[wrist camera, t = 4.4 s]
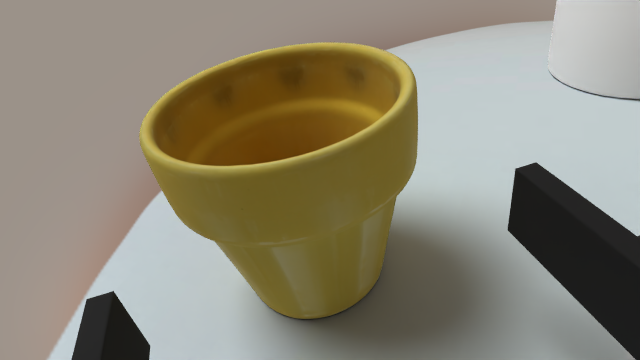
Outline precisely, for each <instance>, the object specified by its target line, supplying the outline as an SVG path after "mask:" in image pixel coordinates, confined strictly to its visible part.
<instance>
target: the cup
mask: <svg viewBox="0 0 640 360" xmlns="http://www.w3.org/2000/svg"><path fill="white" fill-rule="evenodd" d="M548 70H549V71H550V73H551V74H552V75H553V76H554V77H555V78H557V79H558V80H559V81H561V82H562V83H564V84H567V85H569V86H571V87H573V88H576V89H579V90H582V91H585V92H589V93H594V94H598V95H603V96H610V97H618V98H628V99H640V0H557V3H556V10H555V16H554V23H553V29H552V36H551V42H550V49H549V55H548Z"/></svg>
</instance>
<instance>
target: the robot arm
mask: <svg viewBox="0 0 640 360" xmlns="http://www.w3.org/2000/svg"><path fill="white" fill-rule="evenodd" d="M508 231H509V232H510V233H511V234H512V235H513V236H514V237H515V238H516V239H517V240H518V241H519V242H520V243H521V244H522V245H523V246H524V247H525V248H526V249H527V250H528V251H529V252H530V253H531V254H532V255H533V256H534V257H535V258H536V259H537V260H538V261H539V262H540V263H541V264H542V265H543V266H544V267H545V268H546V269H547V270H548V271H549V272H550V273H551V274H552V275H553V276H554V277H555V278H556V279H557V280H558V281H559V282H560V283H561V284H562V285H563V286H564V287H565V288H566V289H567V290H568V292H569V293H570V294H571V295H572V296H573V297H574V298H575V299H576V300H577V301H578V302H579V303H580V304H581V305H582V306H583V307H584V308H585V309H586V310H587V311H588V312H589V313H590V314H591V315H592V316H593V317H594V318H595V319H596V320H597V321H598V322H599V323H600V324H601V325H602V326H603V327H604V328H605V329H606V330H607V331H608V332H609V333H610V334H611V335H612V336H613V337H614V338H615V339H616V340H617V341H618V342H619V343H620V344H621V345H622V346H623V347H624V348H625V349H626V350H627V351H628V352H629V353H630V354H631V355H632V356H633V357H634V358H635V359H636V360H640V236H636V235H634V234H633V233H632V232H630V231H629V230H628V229H626V228H625V227H623V226H622V225H621V224H619V223H618V222H617V221H615V220H614V219H613V218H611V217H610V216H608V215H607V214H606V213H604V212H603V211H602V210H600V209H599V208H598V207H596V206H595V205H593V204H592V203H591V202H589V201H588V200H587V199H585V198H584V197H583V196H581V195H580V194H579V193H577V192H576V191H574V190H573V189H572V188H570V187H569V186H568V185H566V184H565V183H564V182H562V181H561V180H559V179H558V178H557V177H555V176H554V175H553V174H551V173H550V172H549V171H547V170H546V169H544V168H543V167H542V166H540V165H539V164H538V163H533V164H529V165H526V166H523V167H520V168H516V170H515V177H514V185H513V193H512V200H511V208H510V216H509V223H508ZM149 354H150V345H149V343H148V342H147V340H146V339H145V337H144V336H143V334H142V333H141V331H140V330H139V328H138V327H137V325H136V324H135V322H134V321H133V319H132V318H131V317H130V315H129V314H128V312H127V311H126V309H125V308H124V306H123V305H122V303H121V302H120V300H119V299H118V297H117V296H116V294H115V293H114V291H113V292H109V293H106V294H103V295H100V296H96V297H93V298H90V299H87V300H86V304H85V308H84V312H83V316H82V320H81V324H80V328H79V332H78V336H77V340H76V344H75V348H74V352H73V356H72V360H149Z"/></svg>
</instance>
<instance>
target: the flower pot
mask: <svg viewBox="0 0 640 360" xmlns="http://www.w3.org/2000/svg"><path fill="white" fill-rule="evenodd" d="M139 137H140V145H141V148H142V151H143V153H144V155H145V157H146V160H147V162H148V163H149V166H150V168H151V170H152V172H153V174H154V176H155V178H156V179H157V182H158V184H159V185H160V187H161V189H162V191H163V193H164V195H165V196H166V198H167V200H168V202H169V203H170V205H171V207H172V208H173V210H174V211H175V213H176V215H177V216H178V217H179V219H180V220H181V221H182V222H183V223H184V224H185V225H186V226H188V227H189V228H190V229H191V230H193V231H194V232H196V233H198V234H200V235H201V236H203V237H205V238H208V239H210V240H213V241H215V242H216V243H217V245H218V246H219V247H220V248H221V250H222V251H223V252H224V253H225V254H226V256H227V257H228V258H229V259H230V261H231V262H232V263H233V264H234V266H235V267H236V268H237V269H238V271H239V272H240V273H241V274H242V276H243V277H244V278H245V279H246V281H247V282H248V283H249V284H250V286H251V287H252V288H253V289H254V291H255V292H256V293H257V295H258V296H259V297H260V298H261V300H262V301H263V302H264V303H266V304H267V305H268V306H269V307H270V308H272V309H273V310H275V311H276V312H278V313H281V314H283V315H286V316H288V317H293V318H299V319H314V318H321V317H327V316H330V315H334V314H337V313H339V312H341V311H344V310H345V309H347V308H349V307H351V306H353V305H354V304H356V303H357V302H358V301H360V300H361V299H362V298H363V297H364V296H365V295H367V293H368V292H369V291H370V290H371V289H372V287H373V286H374V284H375V283H376V281H377V279H378V277H379V275H380V272H381V269H382V265H383V261H384V256H385V250H386V245H387V240H388V235H389V230H390V225H391V221H392V216H393V211H394V206H395V202H396V197H397V195H398V194H399V193H400V192H401V191H402V190H403V188H404V187H405V186H406V184H407V182H408V181H409V179H410V177H411V175H412V173H413V171H414V168H415V164H416V158H417V141H418V106H417V86H416V80H415V76H414V74H413V72H412V70H411V68H410V67H409V66H408V65H407V64H406V63H405V62H404V61H403V60H402V59H400V58H399V57H397V56H395V55H394V54H392V53H389V52H387V51H384V50H381V49H378V48H374V47H370V46H365V45H360V44H352V43H309V44H299V45H290V46H284V47H279V48H274V49H269V50H264V51H259V52H256V53H252V54H249V55H245V56H242V57H239V58H235V59H233V60H230V61H227V62H224V63H222V64H219V65H217V66H214V67H211V68H209V69H207V70H204V71H202V72H200V73H198V74H196V75H194V76H192V77H190V78H189V79H187V80H185V81H183V82H182V83H180V84H178V85H177V86H176V87H174V88H173V89H171V90H170V91H168V92H167V93H166V94H165V95H163V96H162V97H161V98H160V99H159V100H158V101H157V102H156V103H155V104H154V105H153V106H152V107H151V109H150V110H149V112H148V113H147V115H146V116H145V118H144V120H143V122H142V125H141V128H140V135H139Z"/></svg>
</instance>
